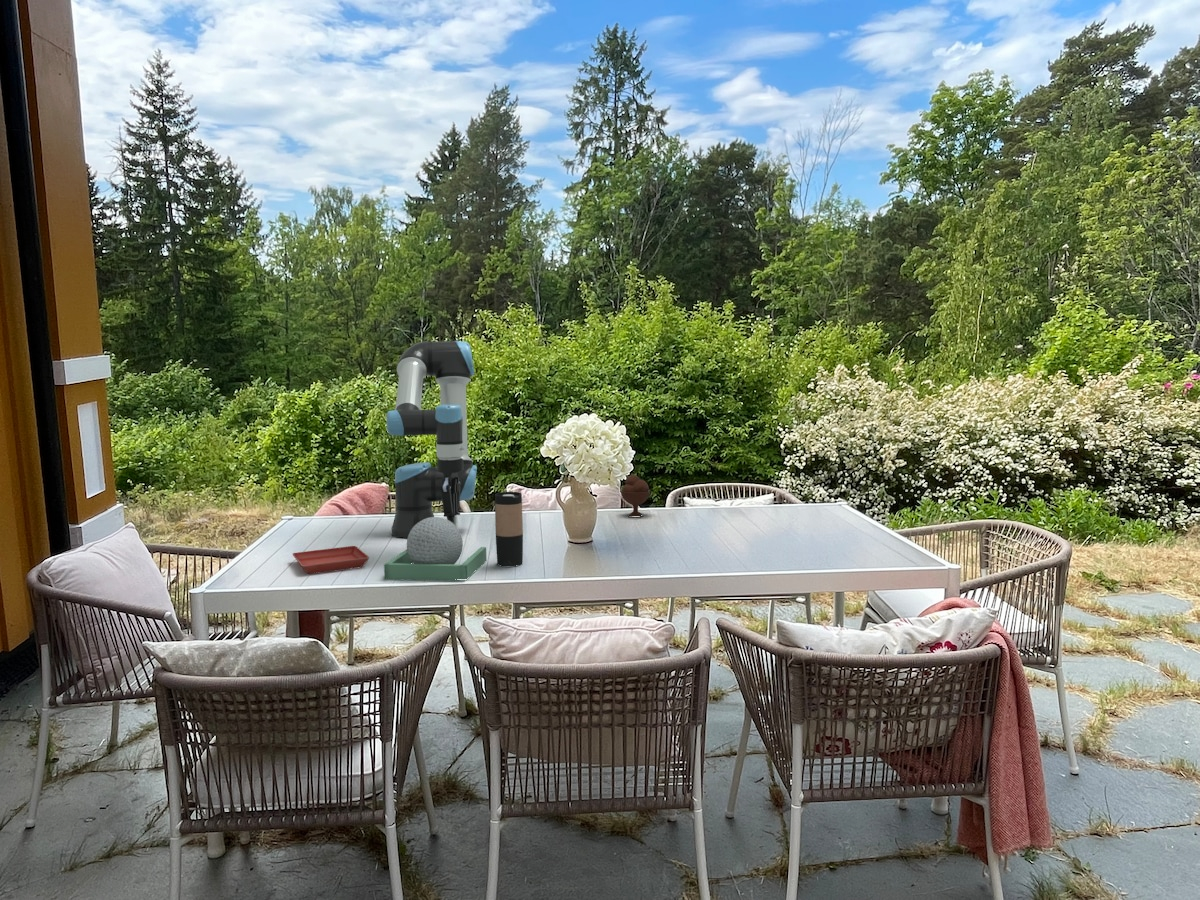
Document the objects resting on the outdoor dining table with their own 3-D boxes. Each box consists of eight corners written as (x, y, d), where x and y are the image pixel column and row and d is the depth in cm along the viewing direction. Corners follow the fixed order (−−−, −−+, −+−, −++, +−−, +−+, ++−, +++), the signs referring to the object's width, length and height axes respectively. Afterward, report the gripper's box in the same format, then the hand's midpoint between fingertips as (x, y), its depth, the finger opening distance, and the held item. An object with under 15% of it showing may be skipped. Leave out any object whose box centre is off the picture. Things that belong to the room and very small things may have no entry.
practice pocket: (412, 559, 236) (411, 545, 236) (486, 560, 234) (486, 547, 233) (384, 579, 215) (384, 564, 215) (465, 581, 213) (465, 566, 212)
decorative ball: (474, 570, 223) (473, 516, 222) (429, 581, 212) (427, 525, 211) (441, 561, 233) (440, 510, 232) (396, 572, 222) (394, 518, 221)
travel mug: (498, 560, 234) (496, 491, 232) (525, 560, 234) (523, 491, 232) (494, 567, 226) (492, 496, 224) (521, 567, 226) (520, 496, 224)
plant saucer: (292, 563, 235) (291, 552, 234) (355, 555, 243) (355, 544, 243) (302, 577, 219) (302, 565, 219) (370, 569, 228) (370, 557, 227)
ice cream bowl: (619, 518, 293) (618, 477, 291) (623, 512, 304) (623, 473, 302) (648, 519, 291) (648, 477, 290) (651, 513, 302) (651, 473, 301)
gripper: (456, 461, 229) (458, 543, 232) (469, 455, 242) (471, 533, 245) (430, 461, 230) (433, 542, 233) (444, 455, 243) (447, 532, 246)
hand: (452, 537), depth 239 cm, fingers closed
